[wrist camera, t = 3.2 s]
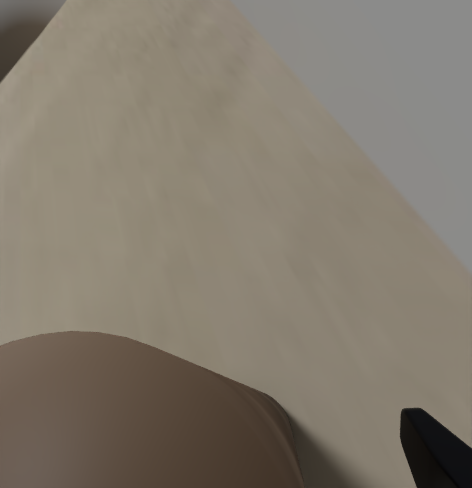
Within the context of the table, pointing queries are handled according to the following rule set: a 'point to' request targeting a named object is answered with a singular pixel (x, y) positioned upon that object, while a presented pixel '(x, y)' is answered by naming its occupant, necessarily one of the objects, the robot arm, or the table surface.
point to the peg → (133, 420)
